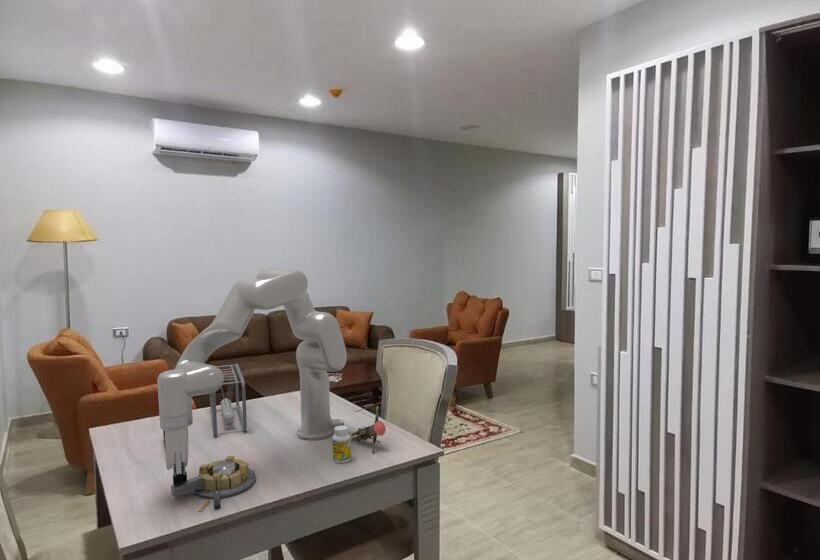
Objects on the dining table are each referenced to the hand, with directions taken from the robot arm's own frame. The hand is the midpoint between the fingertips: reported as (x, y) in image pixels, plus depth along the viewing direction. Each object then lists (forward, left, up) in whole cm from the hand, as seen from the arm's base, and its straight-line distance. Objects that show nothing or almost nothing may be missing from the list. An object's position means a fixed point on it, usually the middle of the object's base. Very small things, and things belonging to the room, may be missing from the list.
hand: (180, 488), depth 132 cm
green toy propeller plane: (-52, -21, -2) cm, 56 cm away
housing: (-10, 0, -1) cm, 10 cm away
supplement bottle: (-42, -10, -2) cm, 43 cm away
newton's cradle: (-6, -53, -2) cm, 53 cm away
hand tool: (+9, -33, -2) cm, 34 cm away
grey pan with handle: (-7, -1, 0) cm, 7 cm away
